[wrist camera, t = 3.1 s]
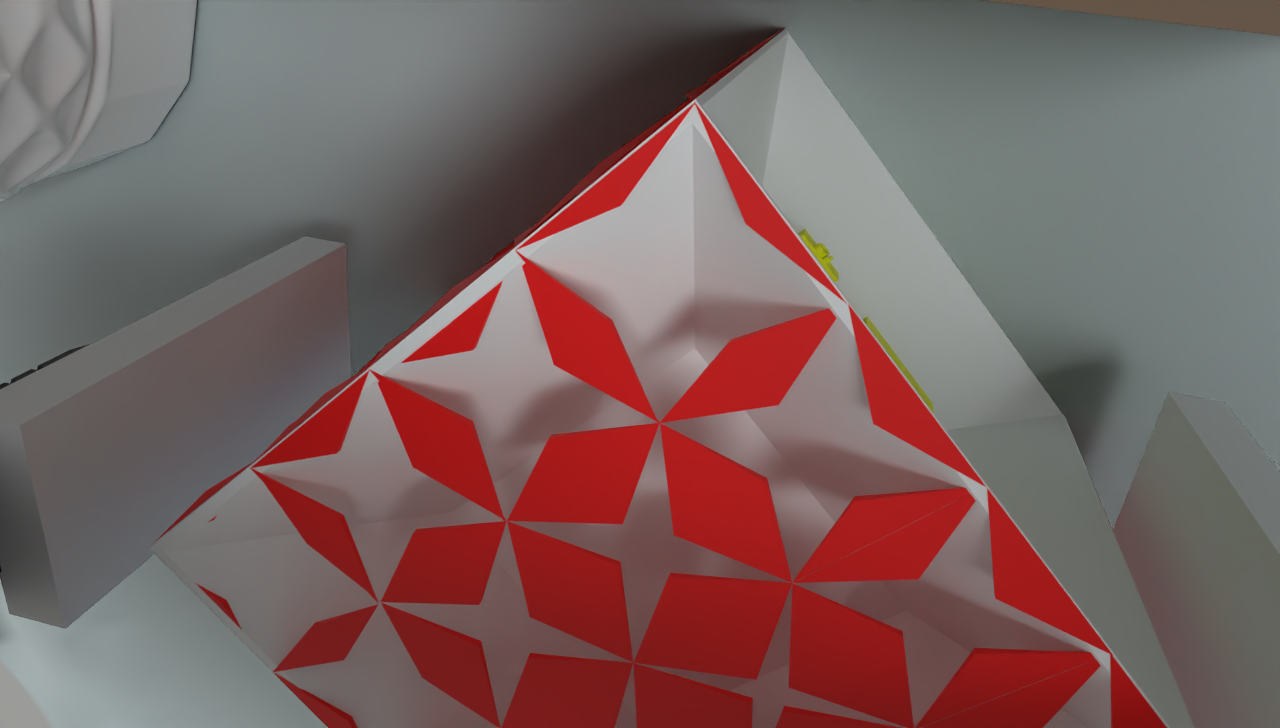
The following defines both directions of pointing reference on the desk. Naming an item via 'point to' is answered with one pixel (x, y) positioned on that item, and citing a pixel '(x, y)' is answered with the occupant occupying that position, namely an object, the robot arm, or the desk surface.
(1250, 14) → the walnut pedestal
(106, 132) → the white cup
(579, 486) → the red white patterned cube
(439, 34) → the desk surface
